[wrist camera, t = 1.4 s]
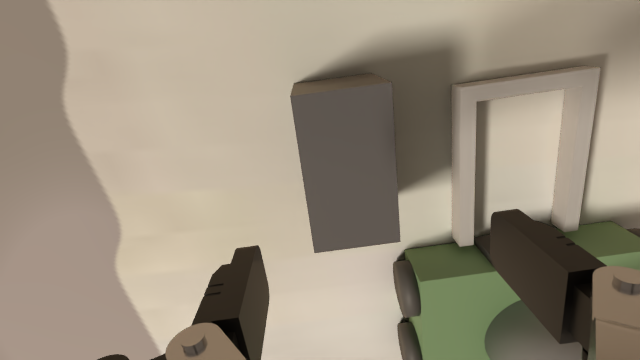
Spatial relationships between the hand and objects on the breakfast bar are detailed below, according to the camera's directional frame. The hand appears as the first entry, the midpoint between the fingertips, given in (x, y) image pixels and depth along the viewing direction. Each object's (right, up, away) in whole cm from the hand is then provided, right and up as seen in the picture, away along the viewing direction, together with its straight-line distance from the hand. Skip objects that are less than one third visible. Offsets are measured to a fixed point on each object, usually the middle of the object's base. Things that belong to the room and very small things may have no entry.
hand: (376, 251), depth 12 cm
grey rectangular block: (-1, +5, +12) cm, 13 cm away
